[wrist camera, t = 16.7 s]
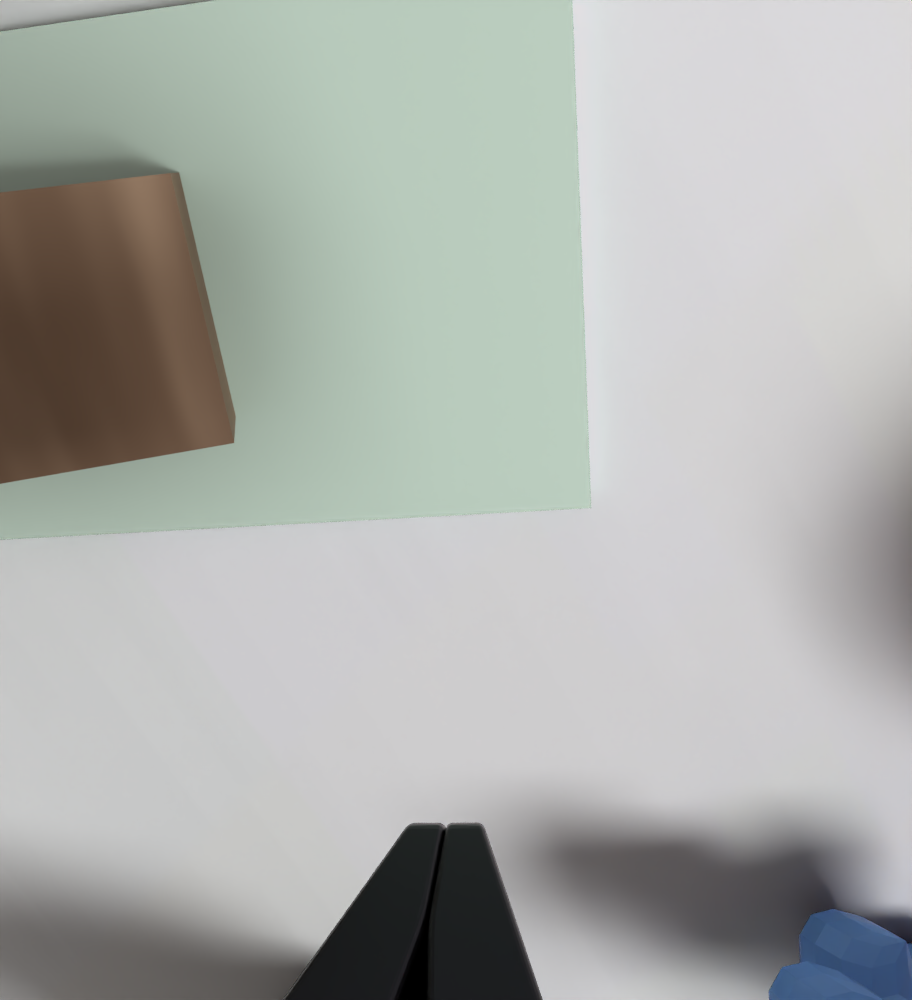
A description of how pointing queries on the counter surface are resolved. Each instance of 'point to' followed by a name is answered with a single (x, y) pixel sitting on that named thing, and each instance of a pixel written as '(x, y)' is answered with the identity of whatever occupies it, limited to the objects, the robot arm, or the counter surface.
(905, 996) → the grapes
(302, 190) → the board
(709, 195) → the counter surface
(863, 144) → the counter surface
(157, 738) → the counter surface
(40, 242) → the domino
